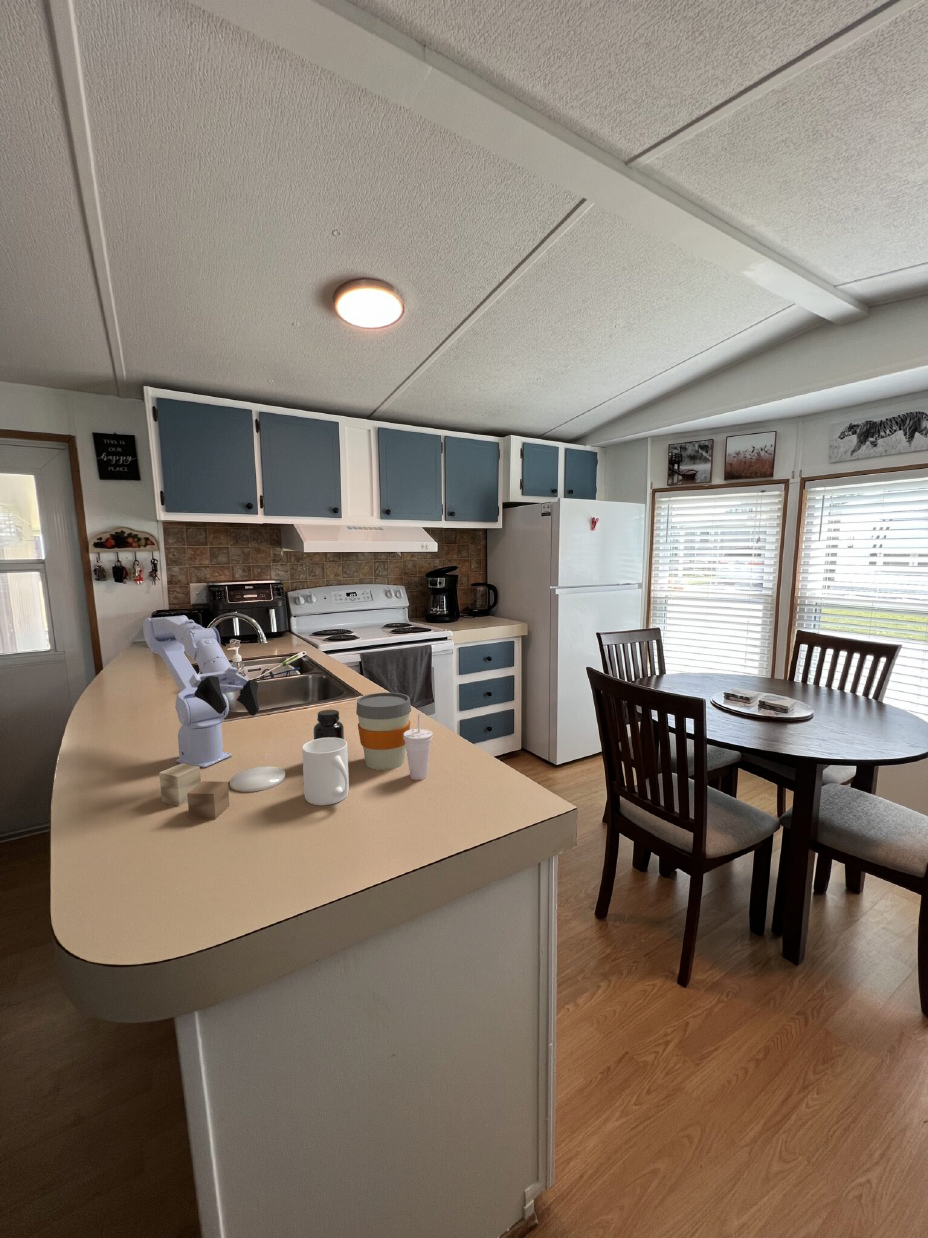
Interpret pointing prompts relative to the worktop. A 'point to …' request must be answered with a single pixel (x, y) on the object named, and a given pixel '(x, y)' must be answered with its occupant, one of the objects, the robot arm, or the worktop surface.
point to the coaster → (257, 779)
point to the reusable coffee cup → (383, 728)
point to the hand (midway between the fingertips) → (239, 711)
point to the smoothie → (418, 751)
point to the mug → (325, 771)
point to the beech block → (178, 783)
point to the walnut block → (208, 800)
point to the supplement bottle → (328, 725)
